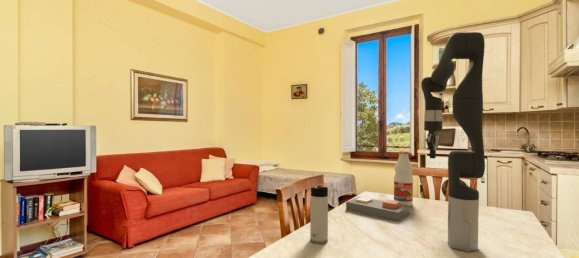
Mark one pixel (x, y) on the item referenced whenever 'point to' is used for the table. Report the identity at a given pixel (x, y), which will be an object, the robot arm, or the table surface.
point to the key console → (378, 209)
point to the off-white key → (364, 200)
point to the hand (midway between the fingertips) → (432, 158)
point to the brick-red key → (391, 204)
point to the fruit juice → (403, 180)
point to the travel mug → (319, 215)
